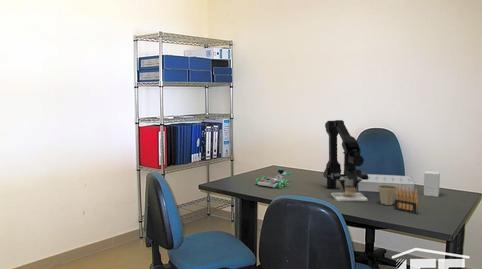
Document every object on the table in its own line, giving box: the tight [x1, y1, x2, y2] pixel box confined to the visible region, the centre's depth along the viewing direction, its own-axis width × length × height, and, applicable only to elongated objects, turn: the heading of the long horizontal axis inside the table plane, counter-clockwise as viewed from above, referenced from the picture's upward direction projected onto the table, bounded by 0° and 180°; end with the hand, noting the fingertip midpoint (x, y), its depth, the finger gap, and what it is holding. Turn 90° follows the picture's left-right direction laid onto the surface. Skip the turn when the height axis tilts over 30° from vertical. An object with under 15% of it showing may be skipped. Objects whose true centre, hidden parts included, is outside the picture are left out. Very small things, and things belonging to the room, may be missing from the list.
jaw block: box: [342, 184, 357, 195], centre depth 223 cm, size 7×5×4 cm
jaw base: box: [330, 192, 368, 202], centre depth 223 cm, size 13×16×4 cm
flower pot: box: [378, 185, 397, 206], centre depth 211 cm, size 9×9×9 cm
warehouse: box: [357, 173, 416, 195], centre depth 242 cm, size 30×14×8 cm, turn 75°
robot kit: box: [255, 168, 292, 189], centre depth 256 cm, size 19×25×9 cm
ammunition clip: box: [393, 185, 419, 215], centre depth 197 cm, size 11×2×12 cm, turn 44°
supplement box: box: [423, 170, 441, 197], centre depth 229 cm, size 7×7×13 cm
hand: (348, 191), depth 223 cm, fingers closed on jaw block, 5 cm apart
